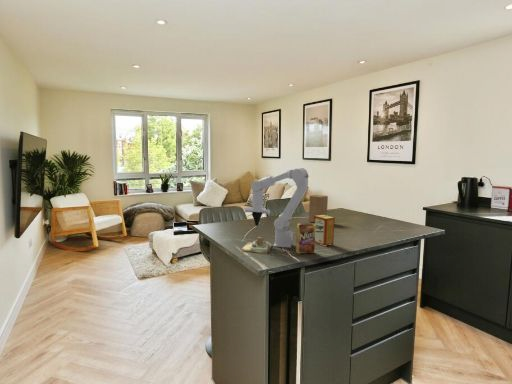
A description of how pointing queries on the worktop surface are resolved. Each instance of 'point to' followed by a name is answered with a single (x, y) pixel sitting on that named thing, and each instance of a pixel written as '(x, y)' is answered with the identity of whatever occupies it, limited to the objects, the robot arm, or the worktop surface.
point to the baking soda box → (324, 229)
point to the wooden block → (317, 206)
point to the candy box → (305, 238)
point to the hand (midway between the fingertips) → (256, 225)
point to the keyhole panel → (265, 245)
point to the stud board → (248, 248)
